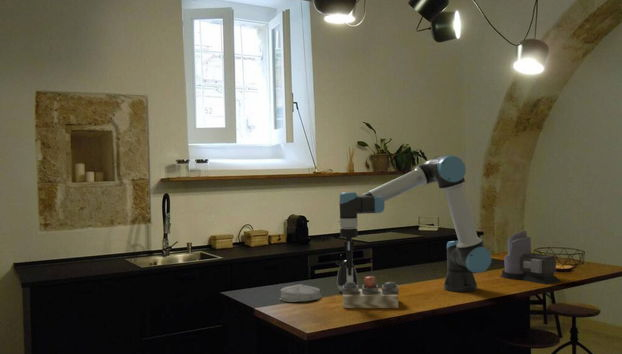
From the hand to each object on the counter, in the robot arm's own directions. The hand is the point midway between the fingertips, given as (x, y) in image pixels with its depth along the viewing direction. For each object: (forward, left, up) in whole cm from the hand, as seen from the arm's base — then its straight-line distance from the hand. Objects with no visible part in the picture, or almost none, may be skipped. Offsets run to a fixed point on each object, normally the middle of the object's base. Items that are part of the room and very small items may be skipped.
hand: (350, 282), depth 236 cm
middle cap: (-8, -4, -2) cm, 9 cm away
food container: (+26, -1, -10) cm, 28 cm away
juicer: (-56, -89, -10) cm, 105 cm away
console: (-8, -4, -9) cm, 13 cm away
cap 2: (-15, -8, -4) cm, 18 cm away
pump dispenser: (+13, -22, -10) cm, 27 cm away
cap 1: (0, 0, -4) cm, 4 cm away
